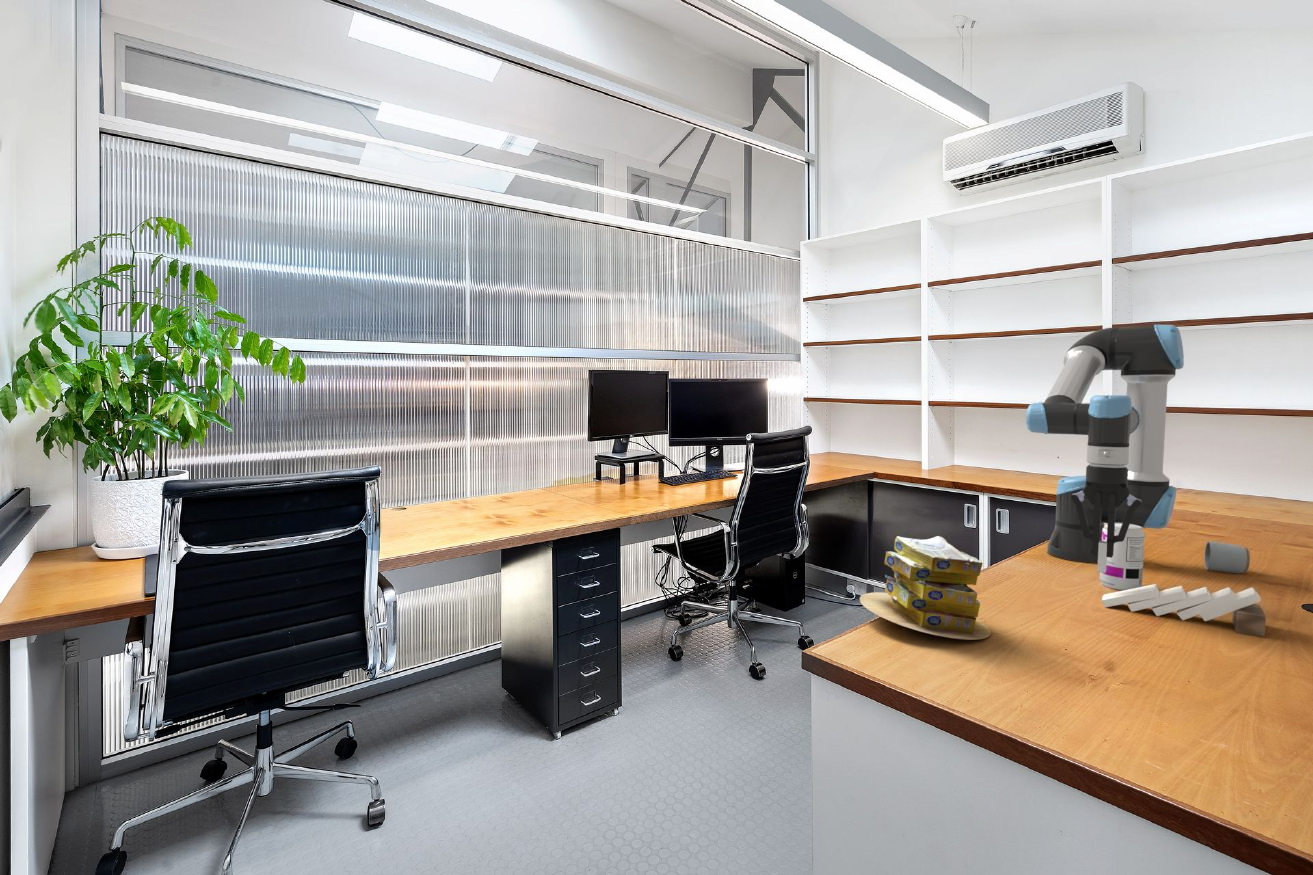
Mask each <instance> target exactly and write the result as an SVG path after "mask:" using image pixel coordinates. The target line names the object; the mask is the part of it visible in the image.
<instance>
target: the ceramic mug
mask: <svg viewBox="0 0 1313 875" xmlns="http://www.w3.org/2000/svg"><path fill="white" fill-rule="evenodd" d="M1203 554H1204V555H1203V556H1204V557H1203V560H1204V563H1203V564H1204V568H1205V570H1206V571H1212V570H1213V572H1222V573H1232V574H1245V573H1247V572H1248V571H1249V568H1250V563H1251V552H1250V550H1249V549H1248V548H1247V547H1246V546H1242V545H1238V544H1233V543H1232V544H1231V543H1226V542H1219V541H1212V540H1208V541H1206V544H1205V547H1204V553H1203Z"/></svg>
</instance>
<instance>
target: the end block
mask: <svg viewBox="0 0 1313 875" xmlns="http://www.w3.org/2000/svg"><path fill="white" fill-rule="evenodd" d="M1231 618H1232V619H1231V620H1232V622H1233V626H1234V630H1235V632H1236V633H1237V634H1243V635H1248V636H1254V637H1260V638H1265V636H1266V634H1265V633H1266V621H1267V616H1266V614H1265V612H1264V610H1263V608H1262V606H1261V604H1257V603H1254V604H1251V605H1249V606H1246V607H1243V608H1241V609H1238V610H1235V611H1232V617H1231Z"/></svg>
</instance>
